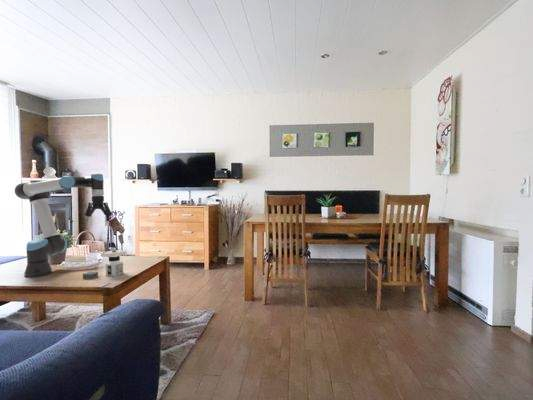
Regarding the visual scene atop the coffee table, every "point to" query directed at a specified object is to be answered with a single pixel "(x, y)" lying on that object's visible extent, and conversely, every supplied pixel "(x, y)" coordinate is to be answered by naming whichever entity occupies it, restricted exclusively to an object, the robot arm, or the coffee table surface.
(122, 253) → the lid
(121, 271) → the container
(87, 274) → the stand
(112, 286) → the coffee table surface
